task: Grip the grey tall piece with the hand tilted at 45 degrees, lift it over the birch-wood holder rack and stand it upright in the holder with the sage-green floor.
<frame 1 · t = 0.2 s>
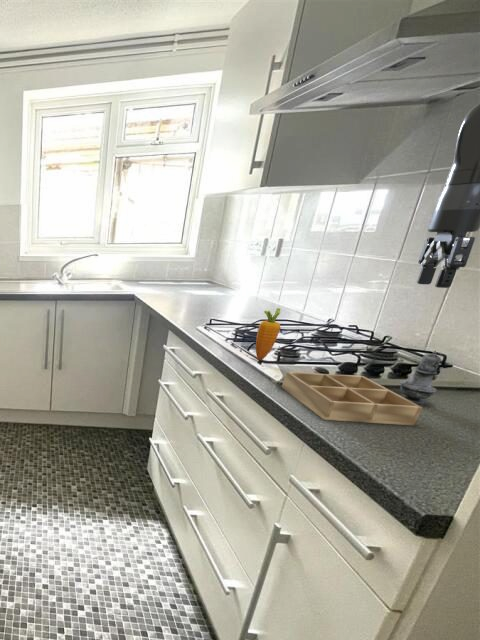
hand: (432, 285, 94), 24 cm above the countertop, tool pointing down, fingers open, 8 cm apart
holder rack: (341, 404, 92), on the countertop
grey tall piece: (410, 401, 94), on the countertop
carrot: (259, 361, 118), on the countertop
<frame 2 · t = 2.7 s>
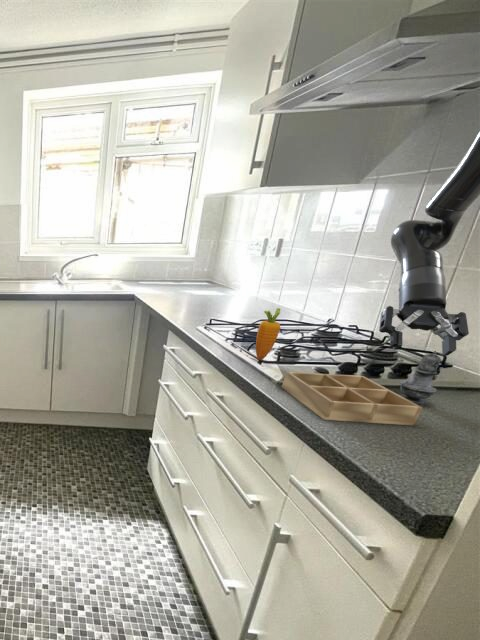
hand: (422, 350, 94), 11 cm above the countertop, tool tilted 45°, fingers open, 8 cm apart
nothing on the countertop moved.
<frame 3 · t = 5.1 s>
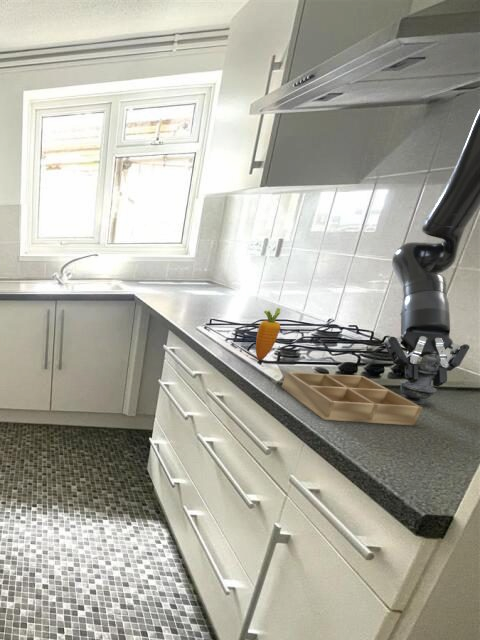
hand: (425, 382, 91), 5 cm above the countertop, tool tilted 45°, fingers closed on grey tall piece, 3 cm apart
grey tall piece: (410, 401, 94), on the countertop, touching gripper
everything else where it was.
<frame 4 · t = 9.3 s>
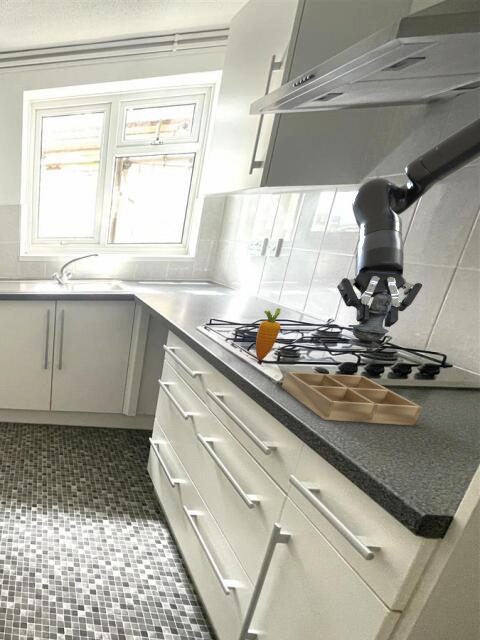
hand: (376, 323, 87), 18 cm above the countertop, tool tilted 45°, fingers closed on grey tall piece, 3 cm apart
grey tall piece: (363, 345, 91), point 13 cm above the countertop, touching gripper
everything else where it was.
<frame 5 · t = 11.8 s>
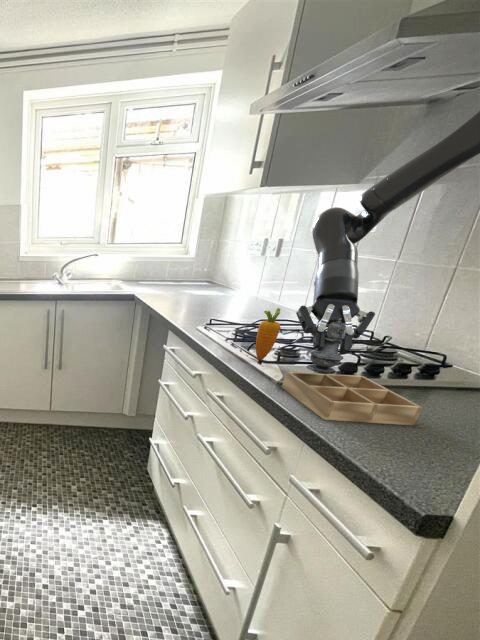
hand: (331, 350, 90), 12 cm above the countertop, tool tilted 45°, fingers closed on grey tall piece, 3 cm apart
grey tall piece: (320, 370, 94), point 6 cm above the countertop, touching gripper
everything else where it was.
when the fingers open (6 cm above the countertop, at t = 13.7 s): grey tall piece stays where it is, resting on holder rack.
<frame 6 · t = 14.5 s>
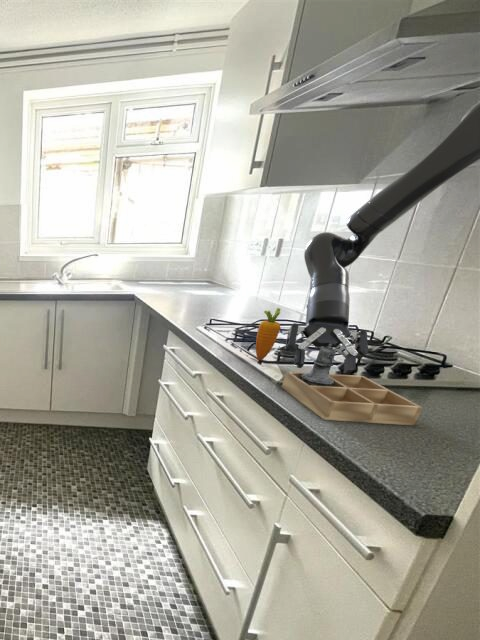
hand: (323, 369, 92), 7 cm above the countertop, tool tilted 45°, fingers open, 8 cm apart
grey tall piece: (311, 393, 96), point 1 cm above the countertop, touching holder rack
everything else where it was.
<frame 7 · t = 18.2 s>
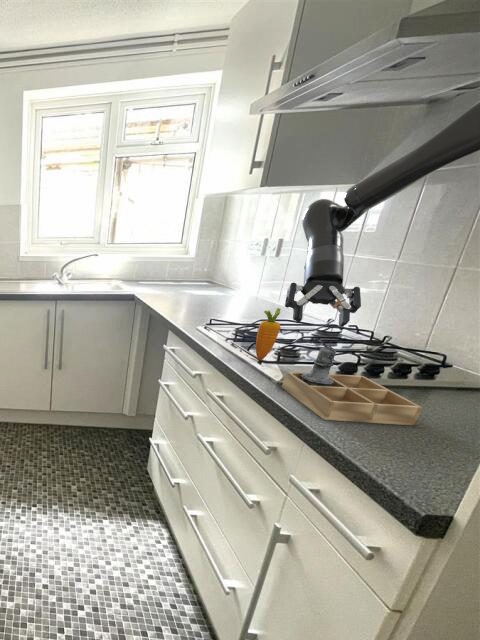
hand: (320, 323, 100), 15 cm above the countertop, tool tilted 45°, fingers open, 8 cm apart
nothing on the countertop moved.
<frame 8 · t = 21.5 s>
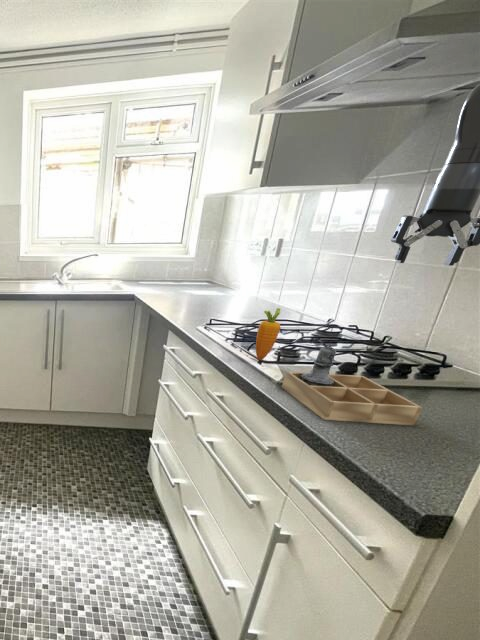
hand: (423, 263, 97), 28 cm above the countertop, tool pointing down, fingers open, 8 cm apart
nothing on the countertop moved.
at the end: grey tall piece 0.2 cm from the target spot, point 0.6 cm above the countertop; grey tall piece tilted 0°; the gripper is holding nothing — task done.
